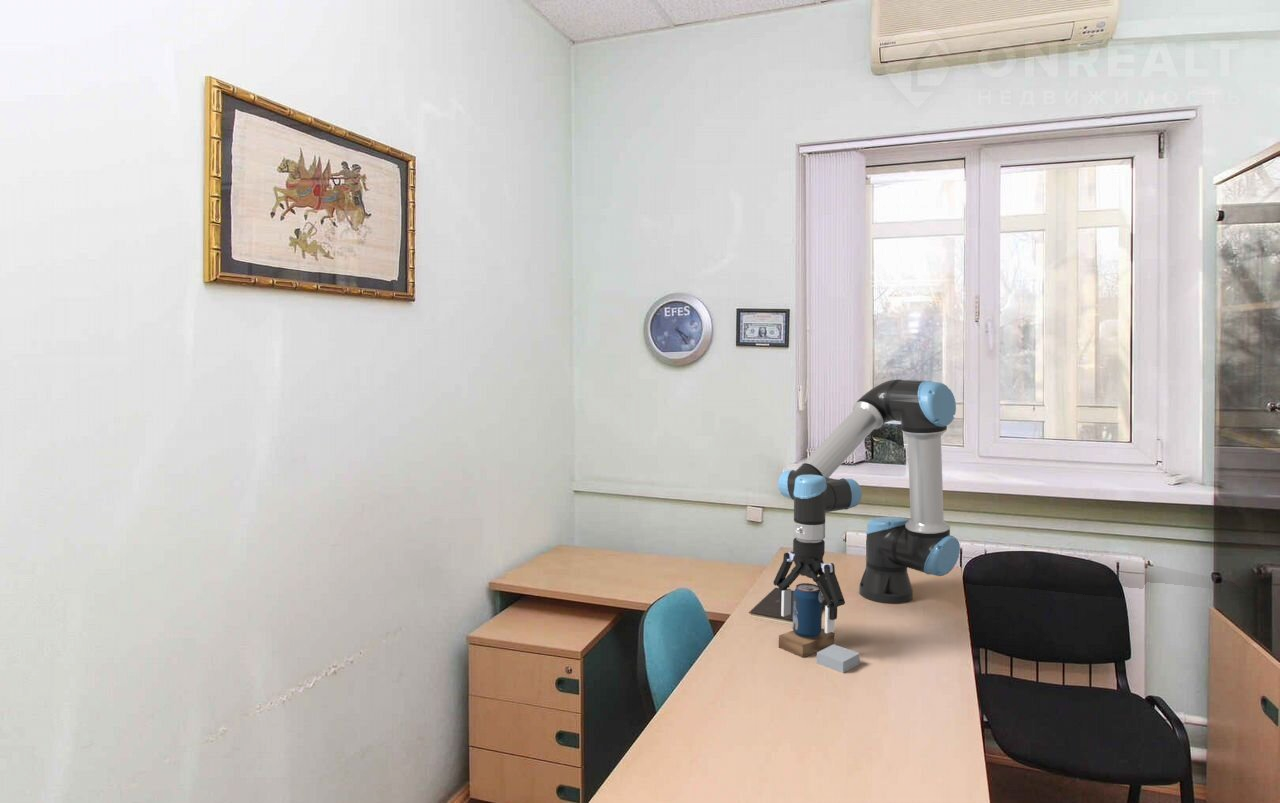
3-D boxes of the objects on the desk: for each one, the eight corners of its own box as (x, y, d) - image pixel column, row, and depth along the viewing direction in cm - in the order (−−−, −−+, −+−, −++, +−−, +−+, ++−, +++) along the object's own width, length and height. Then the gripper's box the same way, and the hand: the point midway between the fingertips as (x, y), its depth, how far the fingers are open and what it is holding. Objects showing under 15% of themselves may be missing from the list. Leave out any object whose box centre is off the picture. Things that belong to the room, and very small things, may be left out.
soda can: (826, 634, 184) (827, 586, 183) (812, 642, 179) (813, 593, 178) (801, 626, 189) (802, 580, 188) (787, 634, 184) (788, 587, 183)
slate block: (833, 656, 179) (833, 644, 179) (859, 665, 174) (859, 653, 174) (816, 664, 174) (817, 652, 174) (842, 674, 169) (843, 661, 169)
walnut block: (810, 635, 191) (810, 624, 190) (834, 645, 185) (834, 633, 184) (778, 647, 183) (778, 635, 183) (802, 657, 177) (802, 645, 177)
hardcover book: (748, 620, 202) (748, 611, 202) (775, 594, 223) (775, 587, 222) (806, 631, 195) (806, 622, 195) (828, 604, 215) (828, 596, 215)
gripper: (760, 530, 189) (759, 611, 191) (841, 553, 170) (839, 643, 171) (780, 526, 194) (778, 605, 196) (861, 547, 174) (859, 635, 176)
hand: (807, 623), depth 183 cm, fingers open, 13 cm apart
